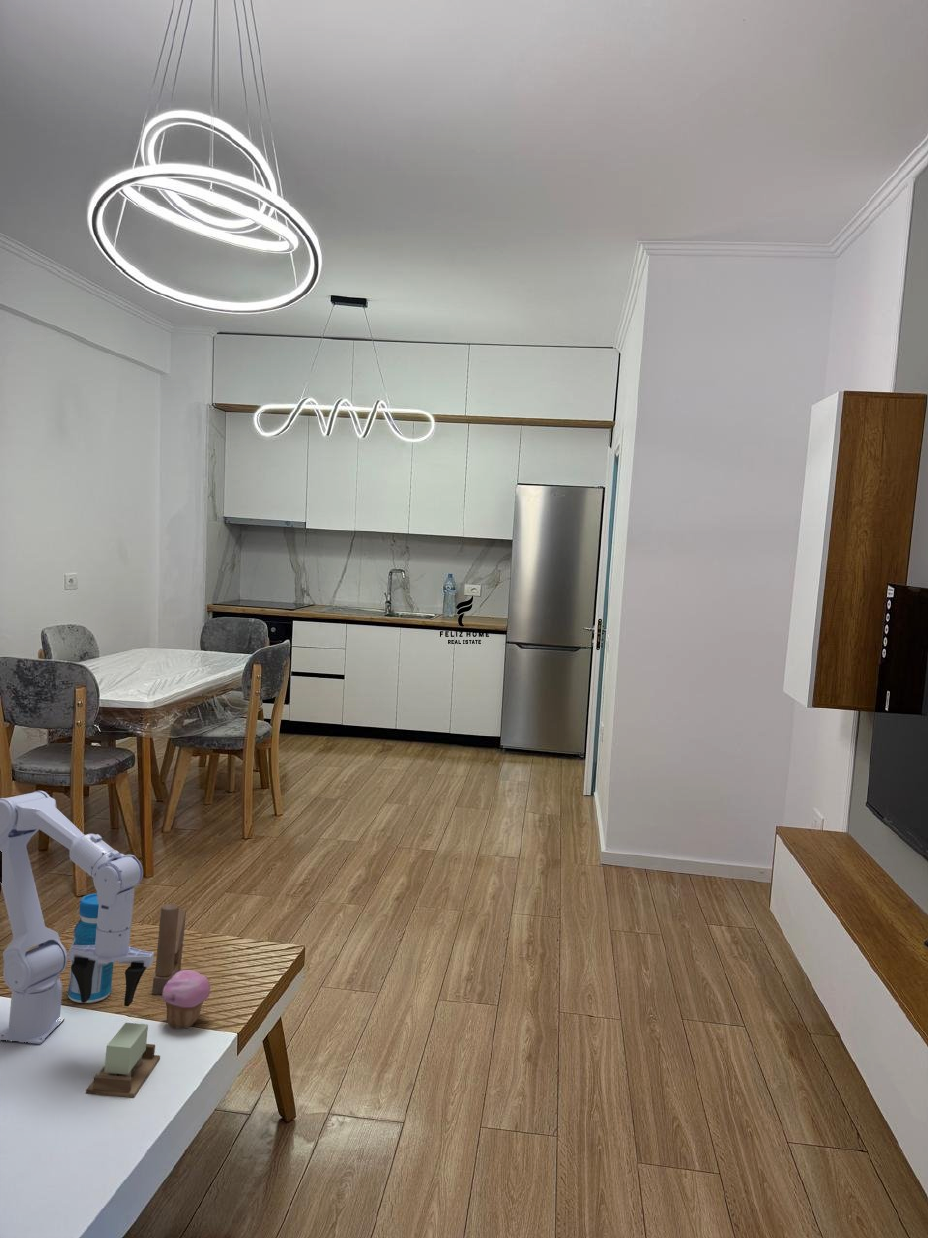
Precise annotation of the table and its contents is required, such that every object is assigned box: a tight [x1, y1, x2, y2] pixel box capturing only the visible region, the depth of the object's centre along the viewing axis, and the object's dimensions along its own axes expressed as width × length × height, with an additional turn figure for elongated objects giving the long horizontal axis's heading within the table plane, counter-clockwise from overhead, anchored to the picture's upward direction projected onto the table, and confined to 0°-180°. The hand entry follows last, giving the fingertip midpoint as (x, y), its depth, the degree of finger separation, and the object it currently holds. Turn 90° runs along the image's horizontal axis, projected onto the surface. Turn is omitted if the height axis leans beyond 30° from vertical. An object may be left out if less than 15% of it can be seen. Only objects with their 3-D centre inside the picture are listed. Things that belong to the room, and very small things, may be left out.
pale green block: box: [104, 1022, 149, 1075], centre depth 144 cm, size 8×4×4 cm, turn 0°
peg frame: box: [85, 1043, 161, 1098], centre depth 144 cm, size 12×8×3 cm, turn 0°
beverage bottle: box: [67, 892, 115, 1004], centre depth 171 cm, size 8×8×20 cm
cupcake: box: [161, 969, 211, 1029], centre depth 163 cm, size 9×9×10 cm
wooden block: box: [151, 903, 187, 995], centre depth 179 cm, size 4×11×18 cm, turn 7°
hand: (107, 1002), depth 149 cm, fingers open, 7 cm apart
